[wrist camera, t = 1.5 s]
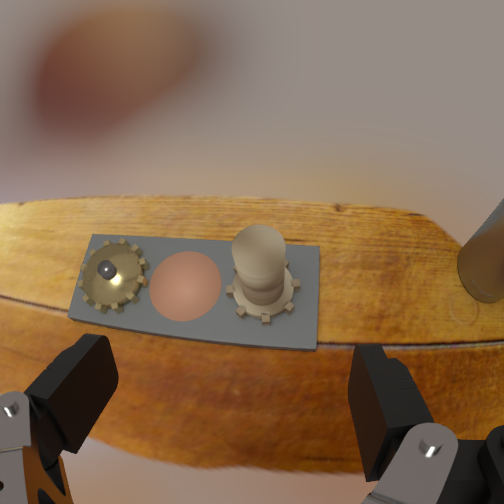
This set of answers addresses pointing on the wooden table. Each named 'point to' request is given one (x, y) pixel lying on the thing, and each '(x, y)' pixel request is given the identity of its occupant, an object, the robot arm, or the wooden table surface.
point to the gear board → (205, 296)
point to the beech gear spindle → (261, 274)
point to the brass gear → (113, 276)
